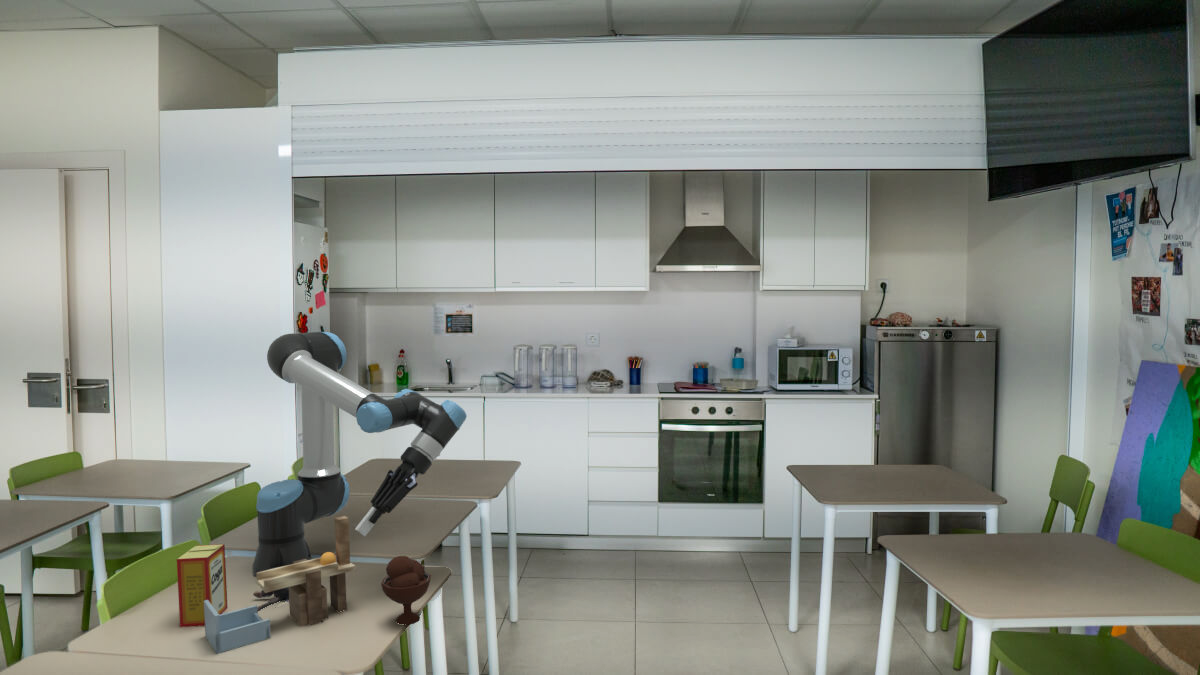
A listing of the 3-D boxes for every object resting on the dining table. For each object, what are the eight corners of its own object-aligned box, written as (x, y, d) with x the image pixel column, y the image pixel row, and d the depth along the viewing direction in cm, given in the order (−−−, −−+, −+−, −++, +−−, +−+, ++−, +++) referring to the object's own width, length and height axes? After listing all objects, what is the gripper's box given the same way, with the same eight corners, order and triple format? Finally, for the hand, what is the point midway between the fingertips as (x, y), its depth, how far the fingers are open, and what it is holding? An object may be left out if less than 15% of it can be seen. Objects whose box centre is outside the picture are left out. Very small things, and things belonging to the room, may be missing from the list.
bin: (257, 622, 166) (255, 587, 165) (270, 637, 157) (269, 601, 157) (205, 636, 159) (203, 600, 158) (216, 653, 151) (215, 616, 150)
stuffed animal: (309, 581, 187) (301, 569, 177) (306, 620, 182) (297, 610, 172) (261, 585, 185) (249, 572, 175) (256, 625, 180) (244, 615, 170)
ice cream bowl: (420, 632, 159) (417, 564, 158) (373, 628, 161) (371, 562, 160) (440, 611, 169) (438, 548, 168) (396, 608, 171) (394, 546, 171)
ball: (317, 568, 170) (316, 553, 170) (329, 563, 173) (329, 549, 173) (327, 570, 168) (326, 555, 168) (339, 565, 171) (339, 551, 171)
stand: (335, 600, 177) (333, 552, 176) (350, 613, 169) (349, 563, 168) (288, 613, 170) (286, 563, 169) (302, 628, 162) (300, 575, 161)
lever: (344, 562, 176) (342, 513, 176) (355, 569, 171) (353, 519, 170) (256, 583, 164) (254, 531, 163) (265, 592, 158) (263, 538, 158)
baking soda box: (210, 625, 164) (206, 556, 164) (180, 627, 164) (176, 557, 163) (227, 607, 174) (224, 542, 173) (199, 609, 173) (195, 543, 172)
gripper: (443, 466, 182) (381, 547, 172) (419, 459, 192) (360, 534, 182) (422, 449, 178) (359, 530, 168) (400, 442, 188) (338, 518, 178)
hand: (360, 532), depth 175 cm, fingers closed
